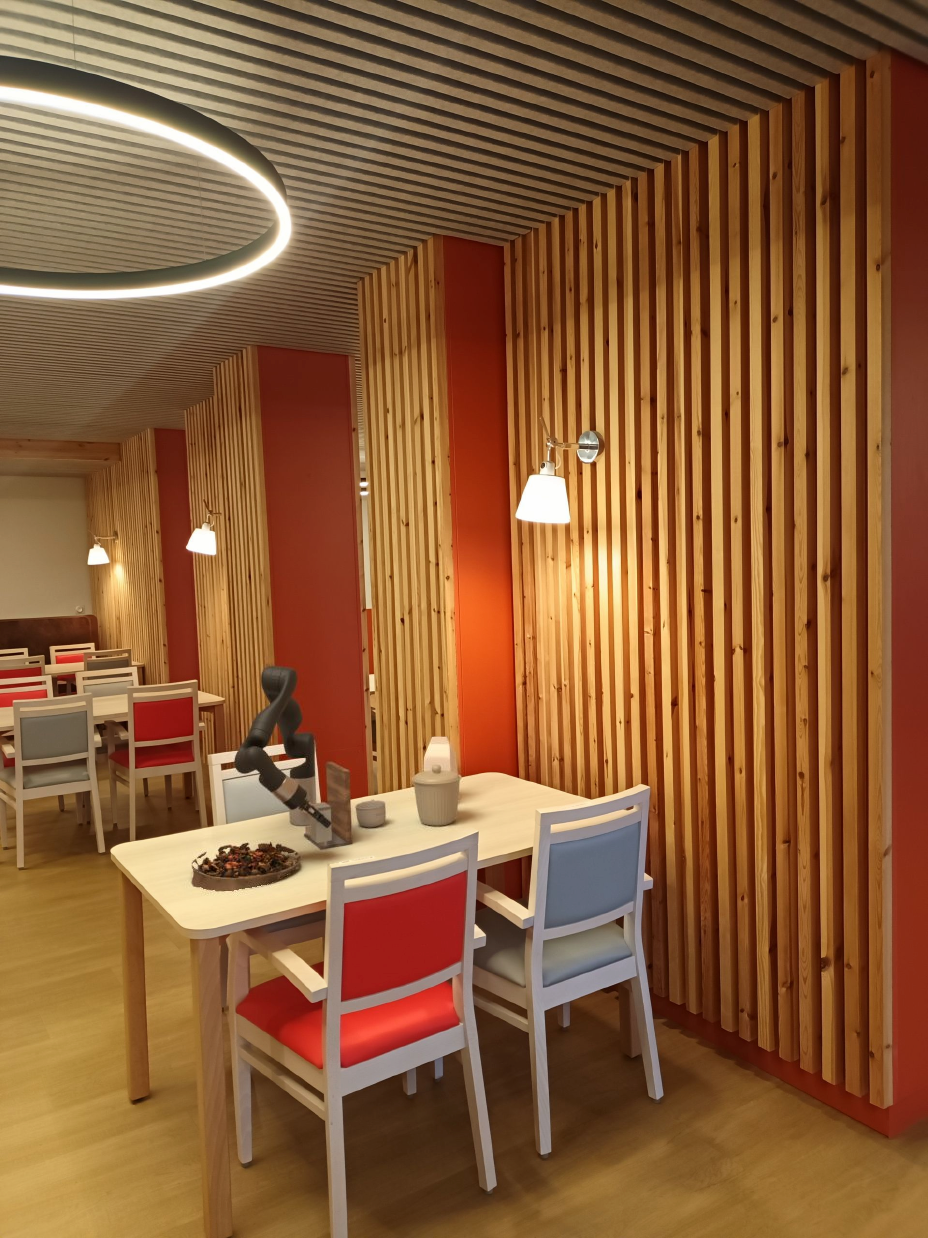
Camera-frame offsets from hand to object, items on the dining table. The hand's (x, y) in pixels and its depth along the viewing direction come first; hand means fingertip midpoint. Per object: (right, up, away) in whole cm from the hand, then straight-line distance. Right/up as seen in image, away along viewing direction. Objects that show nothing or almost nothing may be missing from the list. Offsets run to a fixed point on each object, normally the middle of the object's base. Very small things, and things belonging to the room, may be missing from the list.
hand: (325, 823), depth 292 cm
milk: (+36, -7, +66) cm, 76 cm away
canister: (+35, -8, +38) cm, 52 cm away
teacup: (+11, -9, +38) cm, 41 cm away
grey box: (-1, -5, 0) cm, 5 cm away
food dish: (-23, -13, -11) cm, 29 cm away
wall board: (-2, -10, +20) cm, 22 cm away
